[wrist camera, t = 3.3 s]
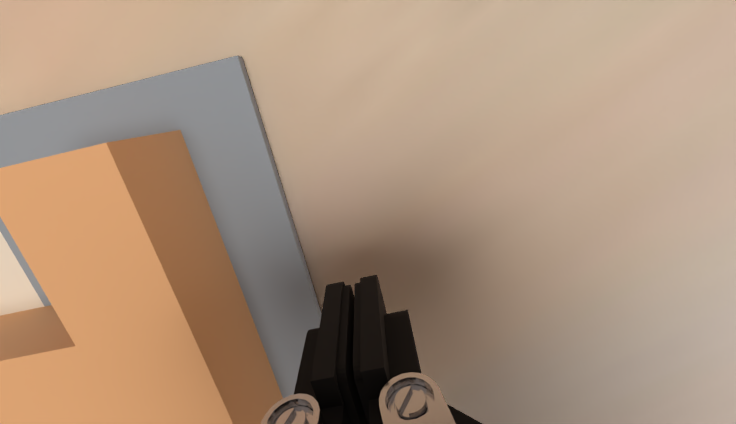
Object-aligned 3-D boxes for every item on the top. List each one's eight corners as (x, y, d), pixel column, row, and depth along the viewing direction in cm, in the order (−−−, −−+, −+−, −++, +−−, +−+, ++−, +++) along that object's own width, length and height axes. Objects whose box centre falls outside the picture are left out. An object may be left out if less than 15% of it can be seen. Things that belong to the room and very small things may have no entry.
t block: (297, 435, 18) (278, 524, 14) (35, 480, 19) (-46, 574, 16) (180, 129, 13) (106, 142, 10) (-161, 211, 14) (-350, 251, 11)
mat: (362, 445, 19) (361, 454, 19) (-120, 524, 21) (-131, 534, 21) (242, 57, 13) (237, 55, 13) (-417, 222, 15) (-442, 226, 15)
